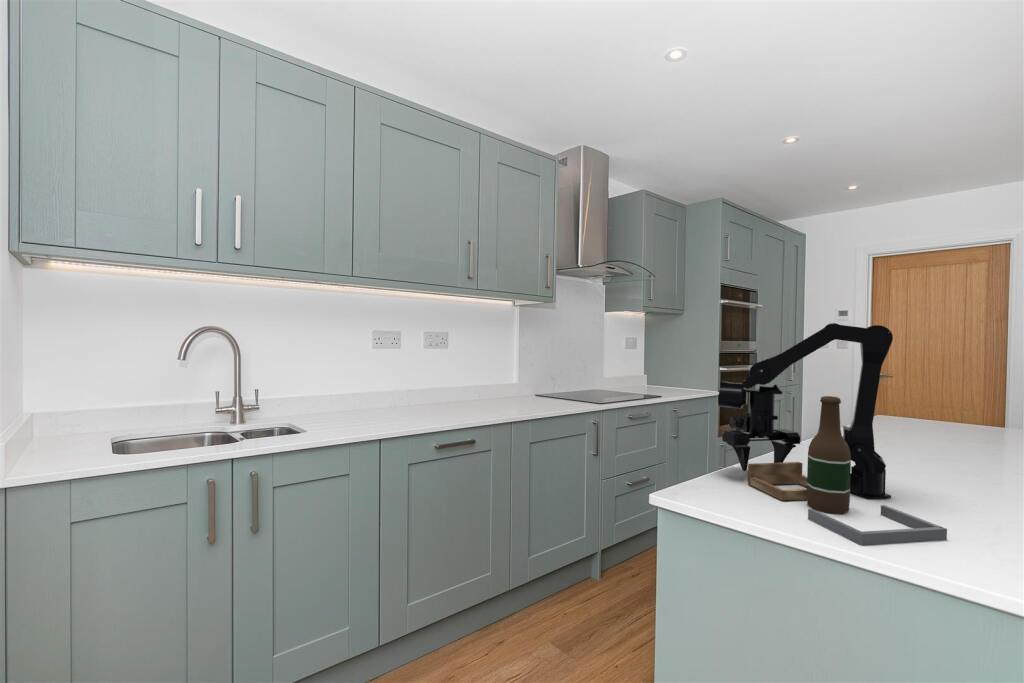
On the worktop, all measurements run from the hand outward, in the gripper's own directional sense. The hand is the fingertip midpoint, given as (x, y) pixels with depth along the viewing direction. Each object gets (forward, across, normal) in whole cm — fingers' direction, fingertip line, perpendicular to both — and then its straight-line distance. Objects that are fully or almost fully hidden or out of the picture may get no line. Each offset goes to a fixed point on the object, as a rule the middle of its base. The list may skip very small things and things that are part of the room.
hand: (760, 470), depth 128 cm
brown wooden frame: (+2, 0, +11) cm, 11 cm away
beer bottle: (+2, 0, +22) cm, 22 cm away
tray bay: (+2, 0, +33) cm, 33 cm away
